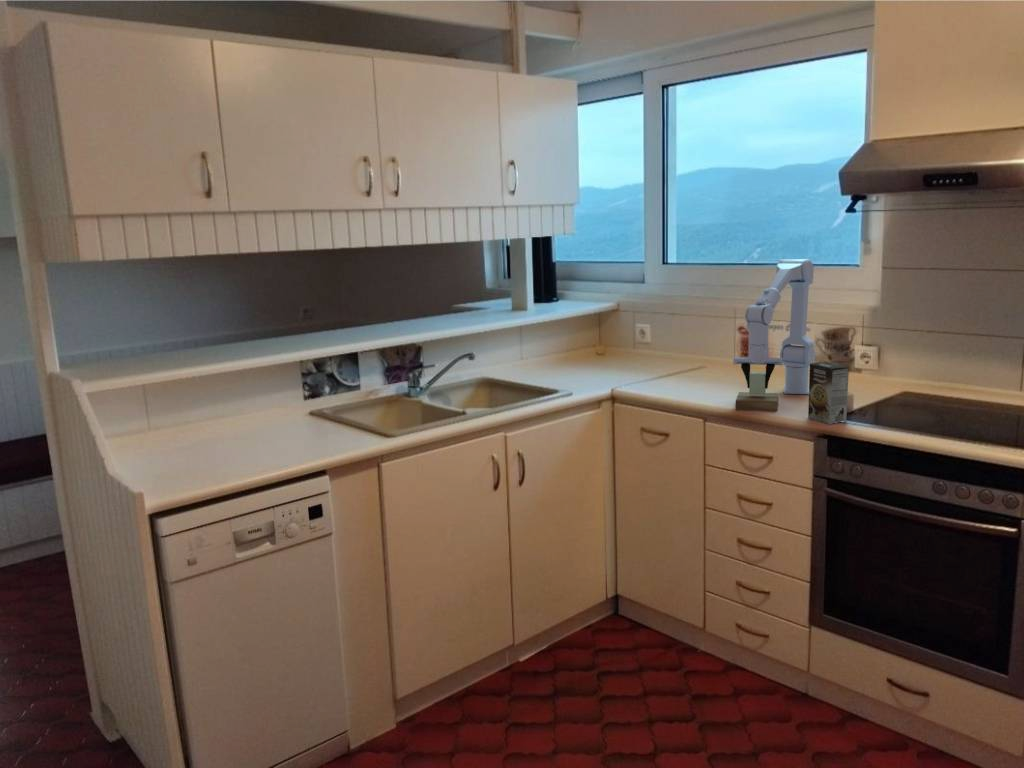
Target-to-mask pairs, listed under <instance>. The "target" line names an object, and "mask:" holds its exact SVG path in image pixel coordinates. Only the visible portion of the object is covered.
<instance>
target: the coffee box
mask: <svg viewBox="0 0 1024 768" xmlns="http://www.w3.org/2000/svg"><path fill="white" fill-rule="evenodd" d="M849 372H850V367H849V366H846V365H844V364H843V365H842V364H838V363H833V362H829V361H824V362H821V361H820V362H813V363H811V364H810V366H809V374H808V387H809V394H808V406H807V407H808V409H807V410H808V412H807V413H808V414H807V417H808V419H811V420H815V421H816V422H820V421H821V422H820V423H824V424H827V425H833V424H832V423H836V422H841V421H846V422H847V414H848V412H847V395H848V393H849V376H850V375H849ZM836 424H837V423H836Z"/></svg>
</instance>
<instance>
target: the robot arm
mask: <svg viewBox="0 0 1024 768" xmlns="http://www.w3.org/2000/svg"><path fill="white" fill-rule="evenodd" d="M814 267H815V266H814V264H813V262H812V261H811V259H810V258H806V259H802V258H798V259H797V258H795V259H794V258H793V259H792V258H789V259H788V258H787V259H786V258H781V259H780V260H779V261H778V262H777V264H776V269H775V271H776V272H775V274H776V275H775V277H774V279H773V281H772V282H771V284H770V285H769V287H766V288H764V289H763V291H762V292H761V294H759V297H757V300H756V301H755V303H754V304H751V305H749V306H748V307H747V308H746V310H745V314H744V318H745V321H746V327H747V329H748V356H744V357H743V356H742V357H741V356H740V357H739V356H738V357H733V360H732V362H733V366H734V365H740V366H741V367H740V368H741V370H742V372H743V374H744V377H745V380H746V385H747V389H749V387H750V373H751V365H762V366H764V365H765V373H766V381H765V389H768V387H769V381H770V379H771V376H772V374H773V371H774V370H775V366H784V367H785V371H784V373H785V374H784V375H785V377H784V387H783V394H786V395H787V394H789V395H790V394H791V395H809V373H810V364H811V363H815V358H816V351H815V342H814V341H813V340H812V339H810V338H809V337H808V336H807V324H808V323H807V319H808V309H809V308H808V307H809V305H808V304H809V293H810V292H809V287H810V285H812V284H813V280H814V271H815V270H814ZM788 285H789V286H790V287H791V289H792V291H791V304H790V305H791V306H790V325H789V335H788V337H786V338H785V339H784V340H782V342H781V348H780V350H779V357H770V356H769V325H770V323H771V322H772V320H773V316H774V313H775V308H776V307H777V305H778V304H779V302H780V301H781V298H782V297H781V293H782V292H783V290H784V289H785V288H786V286H788Z"/></svg>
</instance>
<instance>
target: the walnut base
mask: <svg viewBox="0 0 1024 768" xmlns="http://www.w3.org/2000/svg"><path fill="white" fill-rule="evenodd" d="M779 396H780V394H779V393H778V392H776V393H775V392H773V393H772V392H765V395H749V391H748V392H745V391H742V392H741V391H739V392H738V393H737V396H736V398H735V411H750V410H761V411H760V412H776V411H777V412H778V406H779Z"/></svg>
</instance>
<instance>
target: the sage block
mask: <svg viewBox="0 0 1024 768" xmlns="http://www.w3.org/2000/svg"><path fill="white" fill-rule="evenodd" d="M765 381H766V372H750V387H749V388H748V389H749V391H748V392H749V395H765V393H767V392H766V389H765Z"/></svg>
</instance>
